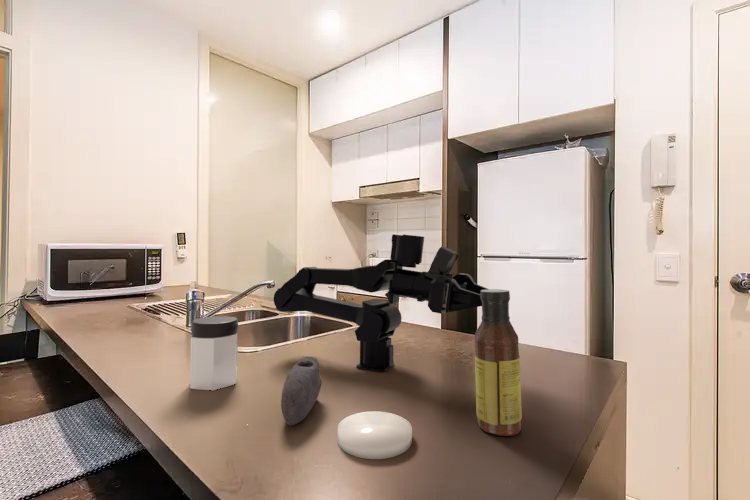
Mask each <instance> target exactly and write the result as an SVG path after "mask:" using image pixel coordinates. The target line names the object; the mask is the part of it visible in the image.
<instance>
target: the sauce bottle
mask: <svg viewBox="0 0 750 500" xmlns="http://www.w3.org/2000/svg"><path fill="white" fill-rule="evenodd" d="M480 299H481V301H482V306H481V313H482V315H481V322H480V324H479V326H478V327H477V329H476V331H475V332H474V350H475V351H474V369H475V370H474V375H475V377H474V378H475V380H474V381H475V409H476V419H477V423H478V426H479V427H480V429H482V431H484V432H486V433H487V434H488V433H489V434H492V435H495V436H500V437H511V436H515V435H517V434H520V431H521V430H522V418H523V416H522V415H523V413H522V385H521V384H522V382H521V381H522V380H521V360H520V358H521V357H520V352H519V336H518V334H517V332H516V330H515V328H514V327H513V325H512V323H511V321H510V319H511V318H510V313H509V311H510V310H509V309H510V305H509V304H510V300H511V295H510V291H509V290H508V289H500V288H499V289H497V288H492V289H491V288H488V289H486V290H481V291H480Z"/></svg>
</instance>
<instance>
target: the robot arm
mask: <svg viewBox="0 0 750 500" xmlns="http://www.w3.org/2000/svg"><path fill="white" fill-rule="evenodd" d="M424 243H425V236H420V235H413V234H412V235H411V234H402V235H401V234H392V235H391V249H390V258H389V259H387V258H386V259H383V260H382V261H381V262H379V263H377V264H376V265H366V266H360V267H354V268H334V267H333V268H330V267H328V268H327V267H325V268H324V267H317V266H305V267H302V268H300V269H299V270H298V271H297V273H296V274H295V275H294V276H293V277H291V278H290V279H288V281H286V282H285V283H283V285H282V286H281V287H280V288H277V290H276V291H275V292H274V294H273V303H274V306H275V309H276V310H277V311H279V312H283V313H284V312H285V313H287V312H289V313H290V312H291V313H293V312H307V313H311V314H312V313H313V314H317V315H322V316H326V317H330V318H333V319H338V320H342V321H347V322H350V323H353V324H356V325H357V326H358V327H357V328H356V329H355V331H354V334H355V338H356V341H358V342H359V363H358V364H356V368H357V369H362V370H369V371H377V372H383V373H384V372H385V371H387V370H388V369H389V368H390V367H392V366H393V365H394V364H395V362H394V345H393V344H392V337H393V336H394V334H395V331H396V330H397V328H398V327H400V325H401V323H402V314H401V311H400V309H399V307H397V306H396V305H394V304H396V303H399V302H400V297H404V298H408V299H413V300H414V299H415V300H416V301H417V302H421V303H423V302H427V307H428V309H429V310H430V311H431V312H432V313H436V314H441V315H442V314H444V313H446V314H449V313H454V312H457V311H463V310H467V309H469V310H470V309H473V308H479V307H482V301H481V299H480V291H481V290H486V289H489V288H487V287H485V286H482V285H480V284H478V283H476V281H475V280H474V278H473V277H472V275H470V273H463V272H459V273H456V275H454V276H453V273H450V272H452V269H453V267H454V265H455V263H456V261H457V260H458V259H459V258H460V254H459V253H458V252H456V251H455V250H453V249H450V248H448V247H446V246H440V247H439V248H438V250H437V252H436V253H435V255H434V258H433V260H432V262H431V264H430V267H429V269H428V270H427V271H417V270H411V269H406V268H413V269H414V268H415V269H416V268H417V265H420V264H422V261H423V253H424ZM404 268H405V269H404ZM317 284H319V285H332V286H333V285H335V286H337V285H338V286H349V287H352V288H354V289H356V290H359V291H363V292H367V293H376V292H381V291H386V290H388V291H387V292H386V293H384V296H385V297H386V298H387V300H388V301H382V300H381V299H378V298H373V299H372V298H371V299H367V300H363V301H362V304H361V303H355V302H351V301H346V300H341V299H336V298H331V297H327V296H321V295H317V294H315V293H314V291H315V288H316V286H317ZM444 306H445V307H444Z"/></svg>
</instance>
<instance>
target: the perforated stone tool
mask: <svg viewBox="0 0 750 500" xmlns="http://www.w3.org/2000/svg"><path fill="white" fill-rule="evenodd" d="M320 372H321V371H320V364H319V362H318V359H317V358H316V357H313V356H304V357H302V358H301V359H299V360H298V361H297V362H296V363H295V364H294V365H293V367H292V368H291V369H290V371H289V373H288V375H287V376H286V379H285V382H284V384H283V387H282V392H281V399H280V409H281V415H282V416H283V419H284V421H285V423H286V424H287V425H288V426H291V427H292V426H294V425H298V423H301V422H302V421H303V420H304V419H305V418H306V417H307V416H308V414H309V413H310V411H311V410H312V408H313V406H314V405H315V403H316V401H317V399H318V397H319V395H320V394H319V393H320V391H321V387H322V384H323V382H322V377H321V374H320Z"/></svg>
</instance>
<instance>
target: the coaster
mask: <svg viewBox="0 0 750 500" xmlns="http://www.w3.org/2000/svg"><path fill="white" fill-rule="evenodd" d="M412 442H413V427H412V425H411V423H410V422H409V421H408V420H407V419H405V418H404V417H402V416H400V415H397V414H395V413H391V412H387V411H371V410H370V411H363V412H362V411H361V412H357V413H354V414H351V415H349V416H348V415H347V417H345V418H343V419H342V420H341V421H340V422H339V423H338V424H337V444H338V446H339V447H340V449H341V450H343V452H345V453H347V454H349V455H351V456H353V457H357V458H362V459H368V460H383V459H390V458H394V457H397V456H399V455H401V454H403V453H405V452H407V451H408V450H409V449H410V447H411V445H412Z"/></svg>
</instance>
